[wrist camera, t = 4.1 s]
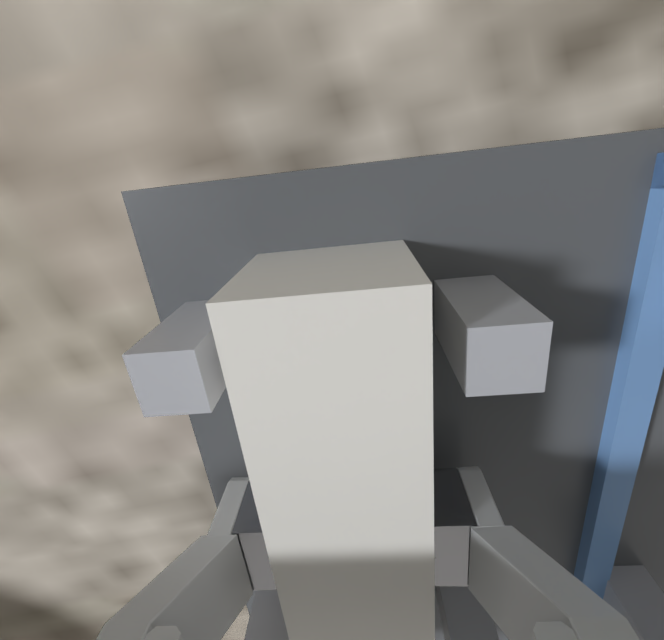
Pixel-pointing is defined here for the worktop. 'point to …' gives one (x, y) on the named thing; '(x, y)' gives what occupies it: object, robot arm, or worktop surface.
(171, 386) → the board
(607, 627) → the robot arm
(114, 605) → the worktop surface
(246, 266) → the bar
